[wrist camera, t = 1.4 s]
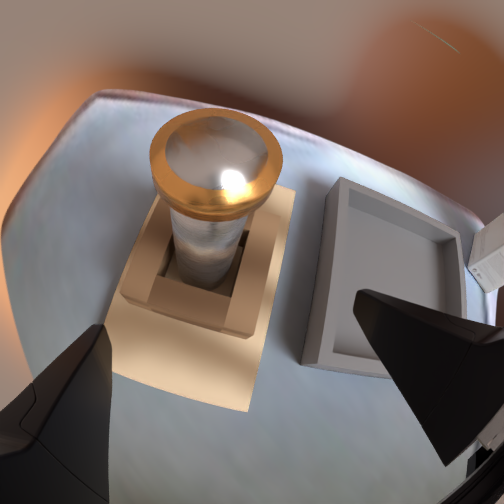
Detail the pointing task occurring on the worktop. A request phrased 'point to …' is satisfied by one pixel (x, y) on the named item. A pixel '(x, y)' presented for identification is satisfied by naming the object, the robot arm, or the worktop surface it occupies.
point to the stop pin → (212, 185)
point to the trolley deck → (193, 345)
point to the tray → (376, 273)
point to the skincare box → (488, 255)
